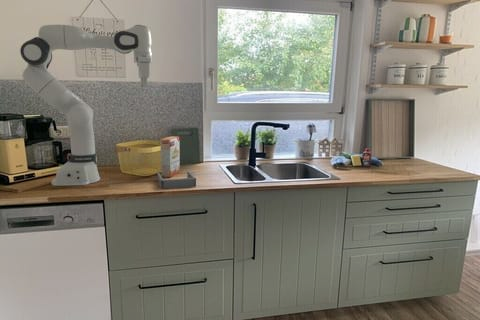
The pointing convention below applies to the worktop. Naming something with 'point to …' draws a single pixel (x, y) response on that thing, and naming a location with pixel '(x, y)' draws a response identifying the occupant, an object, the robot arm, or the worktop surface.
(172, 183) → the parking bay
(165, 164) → the cracker box
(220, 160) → the worktop surface
